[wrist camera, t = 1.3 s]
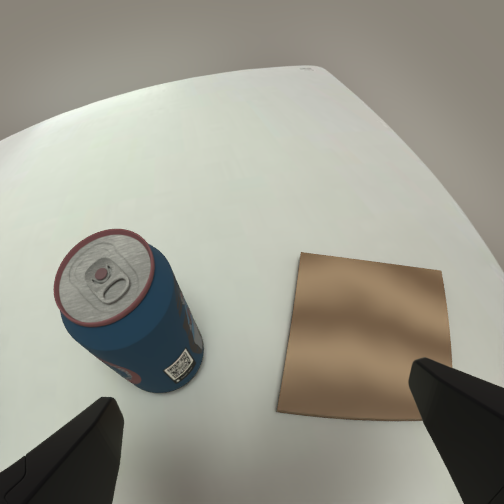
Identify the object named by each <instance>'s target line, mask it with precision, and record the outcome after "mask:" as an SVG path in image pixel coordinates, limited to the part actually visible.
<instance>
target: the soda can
mask: <svg viewBox="0 0 504 504" xmlns="http://www.w3.org/2000/svg"><path fill="white" fill-rule="evenodd" d="M54 298H55V301H56V304H57V306H58V308H59V309H60V312H61V317H62V321H63V323H64V326H65V328H66V329H67V331H68V333H69V334H70V335H71V336H72V337H73V338H74V339H75V340H76V341H77V342H78V343H79V344H81V345H82V346H83V347H84V348H85V349H87V350H88V351H89V352H90V353H92V354H93V355H94V356H96V357H97V358H98V359H99V360H101V361H102V362H103V363H105V364H106V365H107V366H109V367H110V368H111V369H113V370H114V371H115V372H117V373H118V374H120V375H121V376H122V377H124V378H125V379H127V380H128V381H129V382H131V383H132V384H134V385H135V386H137V387H138V388H140V389H142V390H145V391H148V392H153V393H165V392H170V391H173V390H176V389H178V388H180V387H182V386H183V385H185V384H186V383H187V382H189V381H190V380H191V379H192V378H193V376H194V375H195V374H196V372H197V371H198V369H199V367H200V365H201V362H202V358H203V351H204V347H203V340H202V336H201V334H200V331H199V329H198V327H197V325H196V323H195V321H194V318H193V316H192V314H191V312H190V310H189V308H188V305H187V303H186V301H185V299H184V296H183V294H182V292H181V290H180V287H179V285H178V283H177V280H176V278H175V276H174V273H173V271H172V269H171V266H170V264H169V262H168V260H167V259H166V258H165V256H164V255H163V254H162V253H161V252H160V251H159V250H158V249H156V248H155V247H153V246H151V245H150V244H148V243H147V242H146V241H145V240H144V239H143V238H142V237H141V236H140V235H138V234H136V233H134V232H132V231H129V230H125V229H109V230H104V231H100V232H97V233H95V234H92V235H90V236H89V237H87V238H85V239H84V240H82V241H81V242H79V243H78V244H77V245H76V246H75V247H73V248H72V249H71V250H70V252H69V253H68V254H67V255H66V256H65V258H64V259H63V261H62V263H61V264H60V266H59V268H58V271H57V274H56V277H55V281H54Z"/></svg>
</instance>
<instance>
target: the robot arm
mask: <svg viewBox="0 0 504 504" xmlns="http://www.w3.org/2000/svg"><path fill="white" fill-rule="evenodd" d="M408 384H409V388H410V391H411V393H412V395H413V398H414V400H415V403H416V405H417V408H418V410H419V413H420V415H421V418H422V420H423V423H424V425H425V427H426V429H427V431H428V433H429V434H430V436H431V438H432V440H433V442H434V444H435V446H436V448H437V450H438V452H439V454H440V456H441V458H442V459H443V461H444V463H445V465H446V467H447V469H448V471H449V473H450V476H451V478H452V480H453V482H454V484H455V486H456V488H457V490H458V492H459V494H460V496H461V498H462V501H463V503H464V504H504V388H503V387H500V386H497V385H495V384H492V383H490V382H487V381H484V380H482V379H479V378H477V377H474V376H472V375H469V374H466V373H464V372H461V371H459V370H456V369H454V368H451V367H449V366H446V365H444V364H441V363H439V362H436V361H434V360H432V359H429V358H426V357H423V358H419V359H416V360H414V361H413V363H412V366H411V371H410V375H409V380H408ZM123 428H124V418H123V415H122V413H121V411H120V409H119V406H118V404H117V402H116V400H115V399H114V398H112V397H101V398H99V399H98V400H97V401H95V402H94V403H93V404H91V405H90V406H89V407H88V408H86V409H85V410H84V411H82V412H81V413H80V414H79V415H77V416H76V417H75V418H73V419H72V420H71V421H69V422H68V423H67V424H66V425H64V426H63V427H62V428H60V429H59V430H58V431H56V432H55V433H54V434H53V435H51V436H50V437H49V438H47V439H46V440H45V441H43V442H42V443H41V444H39V445H38V446H37V447H35V448H34V449H33V450H31V451H30V452H29V453H27V454H26V456H23V457H22V458H21V459H19V460H18V461H17V462H15V463H14V464H12V465H11V466H10V467H8V468H7V469H5V470H4V471H2V472H0V504H112V501H113V496H114V491H115V485H116V480H117V476H118V471H119V465H120V458H121V447H122V437H123Z"/></svg>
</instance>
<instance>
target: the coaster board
mask: <svg viewBox="0 0 504 504" xmlns="http://www.w3.org/2000/svg"><path fill="white" fill-rule="evenodd" d="M423 357H426V358H429V359H432V360H434V361H436V362H439V363H441V364H444V365H446V366H449V367H451V368H452V354H451V341H450V330H449V320H448V312H447V304H446V297H445V290H444V284H443V278H442V272H441V271H439V270H432V269H425V268H417V267H410V266H402V265H395V264H387V263H380V262H372V261H365V260H357V259H349V258H342V257H334V256H326V255H319V254H311V253H303V252H301V256H300V264H299V271H298V279H297V286H296V294H295V301H294V308H293V315H292V322H291V328H290V335H289V341H288V348H287V354H286V360H285V366H284V372H283V378H282V384H281V390H280V395H279V401H278V406H277V412H280V413H288V414H296V415H304V416H313V417H323V418H335V419H350V420H371V421H423V420H422V418H421V415H420V413H419V410H418V408H417V405H416V403H415V400H414V398H413V395H412V393H411V391H410V388H409V384H408V380H409V375H410V371H411V366H412V363H413V361H414V360H416V359H419V358H423Z"/></svg>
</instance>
